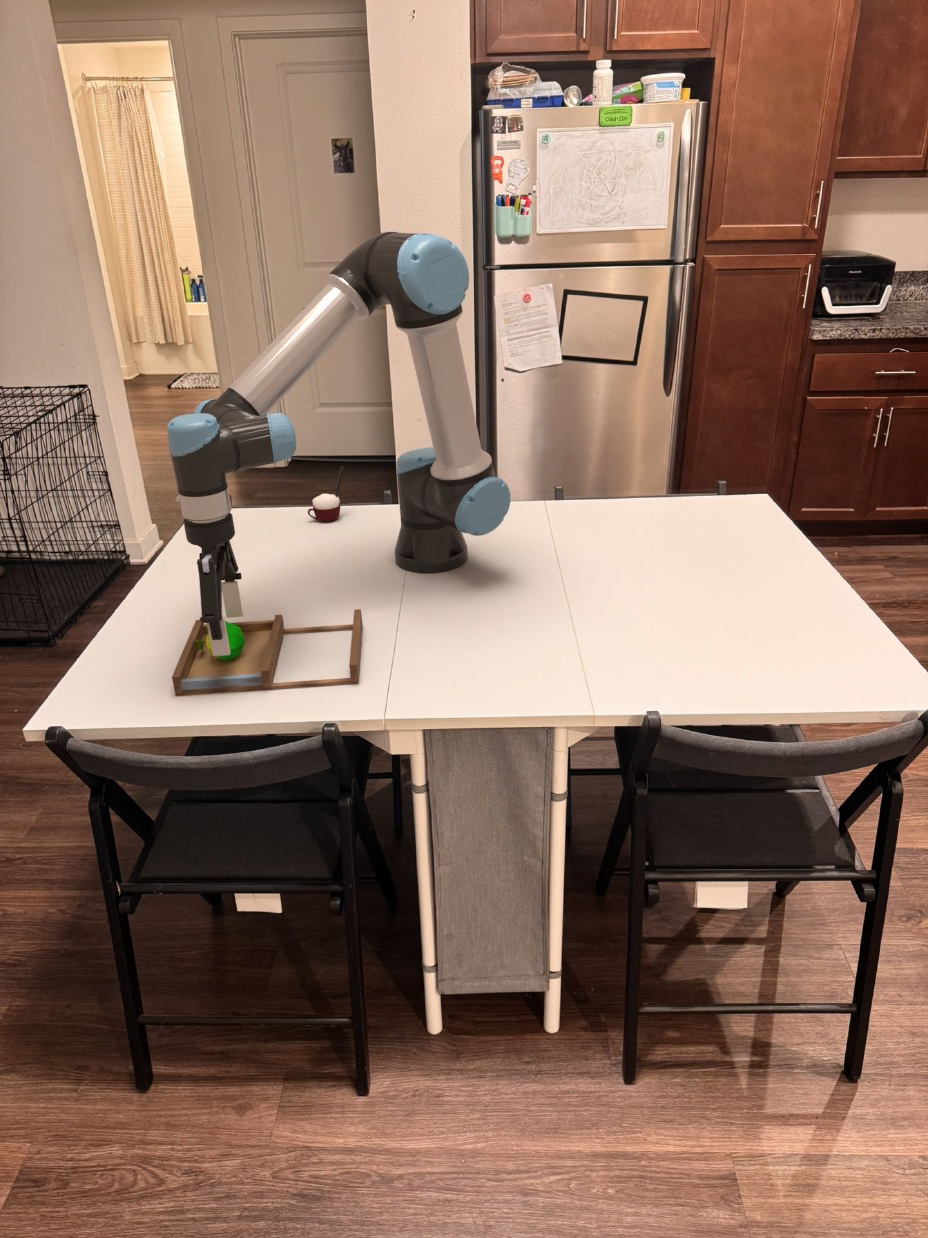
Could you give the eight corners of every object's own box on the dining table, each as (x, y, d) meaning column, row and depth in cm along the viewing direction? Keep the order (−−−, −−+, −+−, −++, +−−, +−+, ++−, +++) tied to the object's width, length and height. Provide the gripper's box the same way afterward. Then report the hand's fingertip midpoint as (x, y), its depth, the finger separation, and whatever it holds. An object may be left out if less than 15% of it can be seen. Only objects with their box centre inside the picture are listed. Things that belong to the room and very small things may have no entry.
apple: (241, 615, 154) (187, 617, 154) (238, 651, 151) (184, 653, 151) (252, 631, 160) (200, 632, 160) (249, 666, 158) (196, 667, 158)
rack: (362, 626, 167) (361, 609, 165) (358, 683, 149) (356, 664, 147) (199, 637, 166) (196, 619, 164) (175, 696, 148) (171, 677, 146)
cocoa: (309, 526, 214) (300, 477, 208) (312, 515, 219) (303, 467, 213) (349, 523, 214) (342, 473, 208) (352, 512, 219) (344, 464, 213)
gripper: (198, 490, 156) (218, 603, 166) (165, 547, 134) (191, 673, 143) (243, 487, 156) (260, 600, 166) (217, 543, 134) (239, 670, 144)
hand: (228, 634), depth 155 cm, fingers open, 13 cm apart
